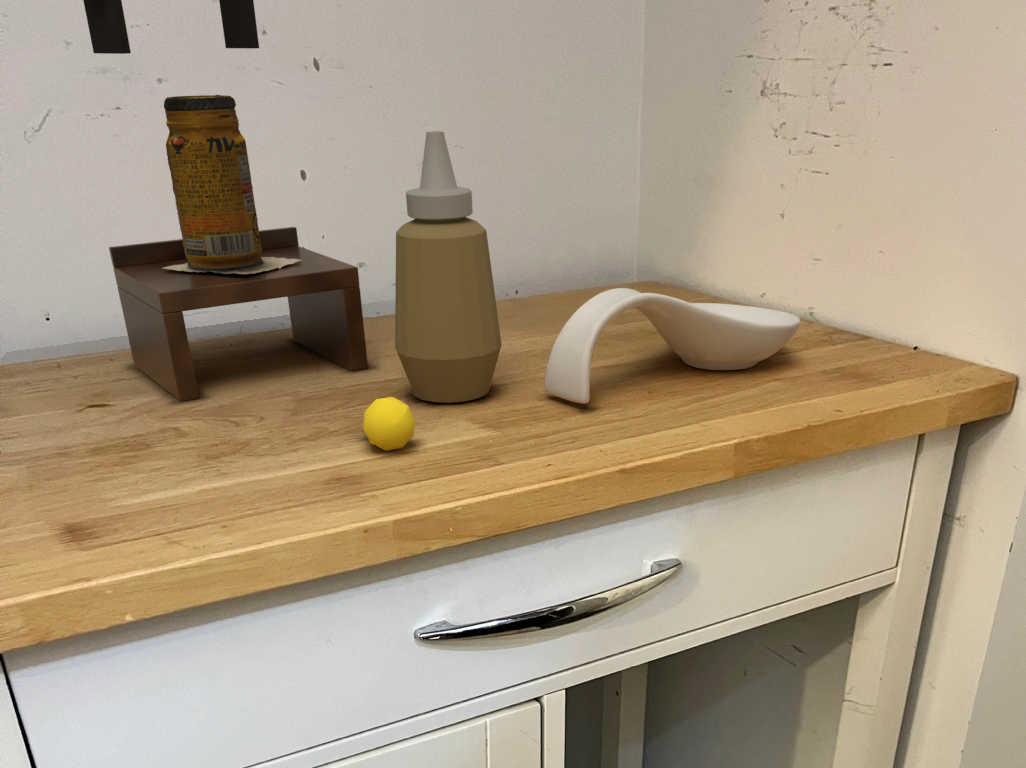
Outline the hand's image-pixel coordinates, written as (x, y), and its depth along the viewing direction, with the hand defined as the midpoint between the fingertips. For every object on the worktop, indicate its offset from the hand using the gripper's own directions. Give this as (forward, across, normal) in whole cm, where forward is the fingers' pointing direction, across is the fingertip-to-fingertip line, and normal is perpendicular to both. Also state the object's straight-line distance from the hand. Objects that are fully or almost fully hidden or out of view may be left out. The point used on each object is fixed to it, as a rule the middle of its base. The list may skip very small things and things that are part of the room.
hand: (181, 51), depth 80 cm
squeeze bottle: (+23, +1, -21) cm, 31 cm away
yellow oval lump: (+23, -11, -23) cm, 34 cm away
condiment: (+15, +1, -1) cm, 15 cm away
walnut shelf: (+23, +1, -1) cm, 23 cm away
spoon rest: (+23, +13, -35) cm, 44 cm away
